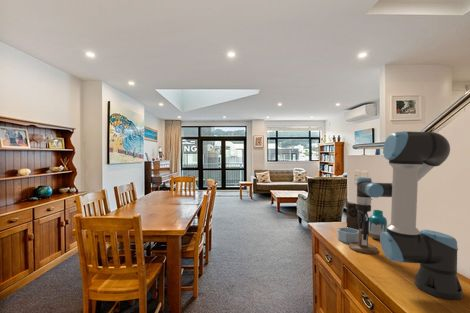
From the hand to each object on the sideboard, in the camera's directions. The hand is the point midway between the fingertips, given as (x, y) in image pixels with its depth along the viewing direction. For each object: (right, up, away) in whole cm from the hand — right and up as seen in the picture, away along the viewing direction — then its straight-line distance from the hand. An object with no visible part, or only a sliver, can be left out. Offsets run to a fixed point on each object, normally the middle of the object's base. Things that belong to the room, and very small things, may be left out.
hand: (363, 243), depth 142 cm
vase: (+20, -4, +20) cm, 29 cm away
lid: (0, -3, 0) cm, 3 cm away
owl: (+18, -4, +44) cm, 48 cm away
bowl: (-2, -4, +15) cm, 15 cm away
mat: (0, -4, 0) cm, 4 cm away
